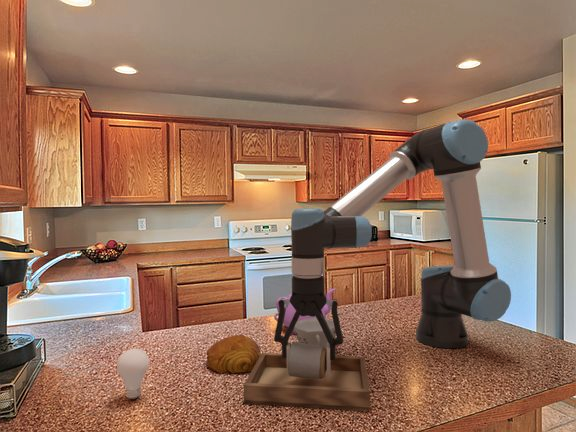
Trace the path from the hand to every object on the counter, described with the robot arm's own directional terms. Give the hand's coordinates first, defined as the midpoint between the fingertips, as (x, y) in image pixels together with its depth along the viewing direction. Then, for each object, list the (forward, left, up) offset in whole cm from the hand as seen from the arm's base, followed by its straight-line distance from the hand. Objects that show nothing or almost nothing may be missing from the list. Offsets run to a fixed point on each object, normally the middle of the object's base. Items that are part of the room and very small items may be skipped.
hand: (308, 372), depth 89 cm
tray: (0, 0, -3) cm, 3 cm away
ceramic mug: (0, -1, -1) cm, 1 cm away
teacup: (0, -22, -4) cm, 22 cm away
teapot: (+5, -43, -4) cm, 43 cm away
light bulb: (+38, +10, -4) cm, 39 cm away
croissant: (+21, -12, -4) cm, 25 cm away
